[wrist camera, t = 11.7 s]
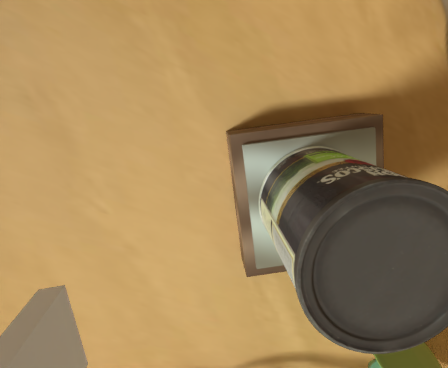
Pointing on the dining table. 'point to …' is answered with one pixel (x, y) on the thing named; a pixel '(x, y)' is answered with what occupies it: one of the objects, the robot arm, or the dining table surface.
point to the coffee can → (360, 248)
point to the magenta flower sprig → (406, 359)
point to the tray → (271, 153)
